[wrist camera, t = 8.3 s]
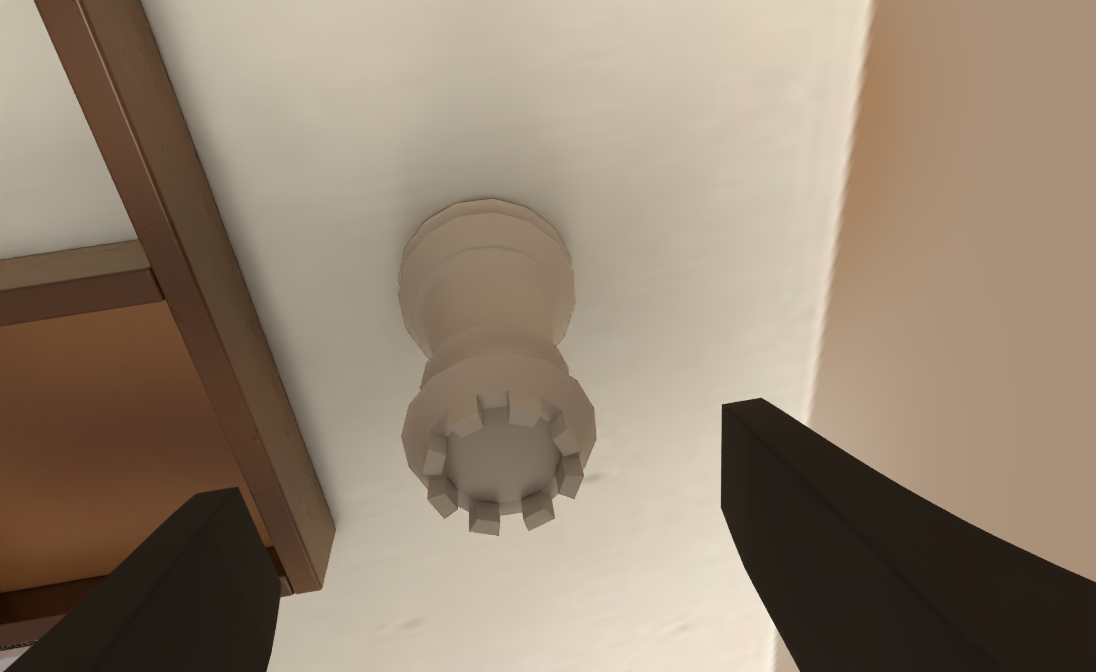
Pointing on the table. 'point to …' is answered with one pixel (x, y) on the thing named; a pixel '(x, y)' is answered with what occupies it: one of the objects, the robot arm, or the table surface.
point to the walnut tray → (136, 359)
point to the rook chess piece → (493, 365)
